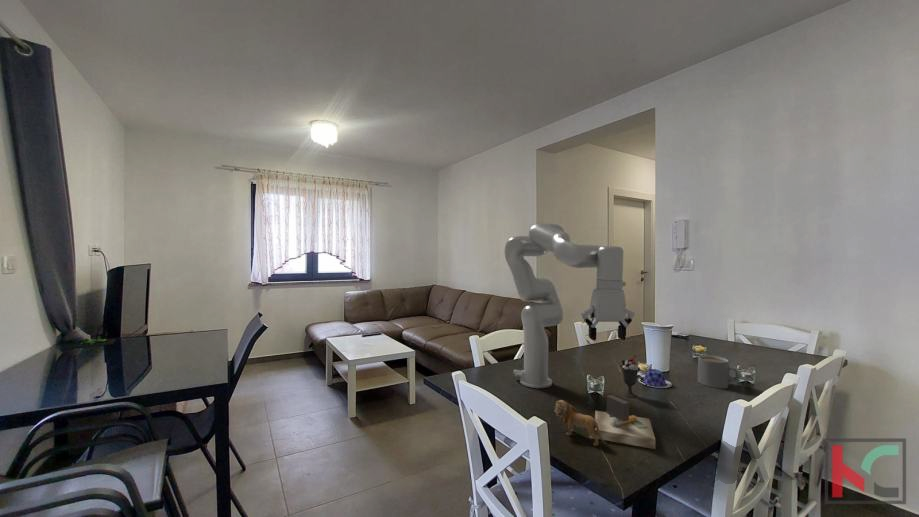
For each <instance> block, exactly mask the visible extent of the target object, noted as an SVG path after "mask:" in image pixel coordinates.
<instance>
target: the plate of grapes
mask: <svg viewBox="0 0 919 517" xmlns="http://www.w3.org/2000/svg"><path fill="white" fill-rule="evenodd" d="M643 377H644V381H643V382H644V383H643V382H641V381H640V380H641V379H640V378H641V377H638V378H637V381H638V382H639V383H640V384H642V385H646V384H647V385H646V386H648V387H652V388H657V389H658V388H659V389H661V388H662V389H664V388H665V389H667V388H670V387H672V386H673V384H672V383H671V382H670V381H668V380H666V378H665V374H664V372H663V371H662V370H659V369H656V368H655V369H654V368H648V369H646V371H645V373H644V376H643ZM666 384H667V385H666ZM650 385H651V386H650Z"/></svg>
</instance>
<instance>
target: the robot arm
mask: <svg viewBox="0 0 919 517" xmlns="http://www.w3.org/2000/svg"><path fill="white" fill-rule="evenodd" d="M548 252H551V253H553V256H554V257H555V258H556V260H557V261H559V262H561V263H562V264H565V265H567V266H569V267H572V268H577V269H585V268H590V269H591V268H592V269H593V268H596V282H595V284H596V286H595V287H596V288H594V289H593V290H592V294H591V299H590V304H589V308H588V309H586V310H584V311H582V312H581V313H580V315H581V317H582V319H583V321H584V322H585V324H586V326H588V337H589V339H590V340H592V341H597V327H596V326H597V324H599V323H600V322H601V323H607V322H608V323H611V322H612V323H614V322H615V323H617V322H618V324H619V325H618V326H617V338H618V339H620V340H623V341H625V340H626V336H627V328H628V327H629V325H630V324H631V323H632V322H633V319H634V317H635V312H633V311H631V310H630V309H628V308H627V304H626V297H625V296H626V295H625V294H626V293H625V290H624V289H623V288H624V287H625V286H626V285H627V284H626V282H625V281H623V278H624V277H623V275H624V274H623V272H624V249H623V248H622V246H617V245H615V246H614V245H603V246H602V245H599V244H597V245H596V244H595V245H594V244H577V243H573V242H571V238H570V235H569V233H567V232H566V231H565V230H564V228H563V227H562V226H561V225H559V224H557V223H547V222H546V223H543V222H541V223H539V222H538V223H536V224H534V225H531V227H530V228H529V230H528V235H527V236H526V235H516V236H513V237H510V238H508V239H507V241H506V243H505V246H504V257H505V261H506V263H507V265H508V267H509V269H510V272H511V275H512V276H513V281H514V284H515V287H516V291H517V294H518V297H519V298H520V300H521V301H522V302H527V303H528V302H529V303H531V302H536V303H531V304H527V305H525V306H524V307H523V308H522V311H521V313H520V314H521V316H520V318H521V322H522V329H523V369H521V370H520V369H513V375H514V377H520V378H519V383H520V384H521V385H522V386H525V387H527V388H531V389H546V388H550V387H551V386H552V385H553V380H552V379H551V378H549V338H548V335H547V332H546V330H545V328H546V327H553V326H557V325H558V326H559V324H561V323H562V321H563V319H564V311H563V308H562V304H561V301H560V299H559V295H558V292H557V290H556V287H555V285H554V284H553V282H552V281H551V280H550V279H548V278H545V277H538V278H537V277H536V276H535V272H534V270H533V267H532V266H531V264H530V262H528V261H527V259H525V257H540V256H541V257H542V256H544V255H546V254H547V253H548ZM537 302H539V303H537ZM626 316H627V317H626ZM589 317H590V319H589Z"/></svg>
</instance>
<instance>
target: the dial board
mask: <svg viewBox="0 0 919 517" xmlns="http://www.w3.org/2000/svg"><path fill="white" fill-rule="evenodd" d="M594 413H595V414H594V419H595V420H596V422H597V425H598V427H599V431H600V435H601V438H602V439H603V440H604V441H606V442H608V441H609V442H612V443H619V444H625V445H631V446H635V447H641V448H646V449H647V448H648V449H652V450H656V437H655V433H654V431H653V426H652V422H651V420H650V418H648V417H640V416H636V417H637V420H635V421H632V422H628V423H625V424H622V425H621V426H616V425H614V424H613V416H611V415H609V414H607V411H600V410H595V411H594ZM595 435H596V436H597V438H598V440H601V439H600V438H599V435H598V432H597V429H596V428H595Z"/></svg>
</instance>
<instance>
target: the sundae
mask: <svg viewBox="0 0 919 517" xmlns="http://www.w3.org/2000/svg"><path fill="white" fill-rule="evenodd" d="M635 358H637V355H636V354H634V356H633V357H632V358H629V359H627V360H624V359H622V360H621V364H622V365H620V366H619V367H620V369H621V370H622V371H621V372H622V378H623V382H624V383H625V384H626V385H627V391H626V392H625V391H624V392H622V396H624V397H625V398H631V399H635V398H637V397H638V394H636V393H633V390H632V387H633V386H635V385H636V384H637V381H638V374H639V373H638V372H640V370H641V368H640V366H638V365H637V364H636V360H635Z"/></svg>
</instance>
